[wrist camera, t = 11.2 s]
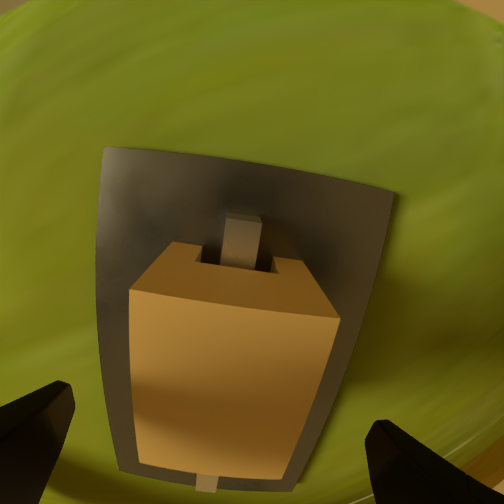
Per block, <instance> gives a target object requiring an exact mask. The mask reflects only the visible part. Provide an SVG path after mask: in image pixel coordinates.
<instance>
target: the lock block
mask: <svg viewBox="0 0 504 504" xmlns="http://www.w3.org/2000/svg"><path fill="white" fill-rule="evenodd" d="M201 253H202V246H199V245H193V244H186V243H179V242H172V243H171V244H170V245H169V246H168V247H167V248H166V249H165V250H164V251H163V252H162V254H161V255H160V256H159V257H158V258H157V259H156V260H155V261H154V262H153V263H152V264H151V265H150V267H149V268H148V269H147V270H146V271H145V272H144V273H143V274H142V275H141V277H140V278H139V279H138V280H137V281H136V282H135V283H134V284H133V285H132V287H131V288H130V289H129V350H130V374H131V390H132V403H133V414H134V424H135V433H136V442H137V449H138V457H139V463H143V464H148V465H152V466H157V467H162V468H167V469H173V470H179V471H185V472H191V473H198V474H206V475H214V476H224V477H235V478H250V479H282V477H283V474H284V472H285V470H286V468H287V465H288V463H289V461H290V459H291V456H292V454H293V452H294V449H295V447H296V444H297V442H298V440H299V437H300V435H301V432H302V430H303V427H304V425H305V422H306V420H307V417H308V414H309V412H310V409H311V406H312V404H313V401H314V398H315V396H316V393H317V390H318V387H319V384H320V382H321V379H322V376H323V373H324V370H325V367H326V364H327V361H328V358H329V355H330V352H331V349H332V345H333V342H334V339H335V336H336V332H337V329H338V326H339V322H340V319H341V318H340V317H339V315H338V314H337V312H336V311H335V309H334V308H333V306H332V305H331V303H330V301H329V300H328V298H327V297H326V295H325V294H324V292H323V291H322V289H321V288H320V286H319V285H318V283H317V282H316V280H315V279H314V277H313V276H312V274H311V273H310V271H309V270H308V268H307V267H306V265H305V264H304V263H303V261H300V260H294V259H287V258H280V257H273V259H272V265H271V270H270V273H268V272H261V271H254V270H247V269H240V268H233V267H227V266H220V265H213V264H207V263H200V262H201Z"/></svg>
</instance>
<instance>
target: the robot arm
mask: <svg viewBox="0 0 504 504" xmlns="http://www.w3.org/2000/svg"><path fill="white" fill-rule="evenodd" d="M74 411H75V401H74V397H73V392H72V388H71V385H70V384H68V383H66V382H63V381H59V380H57V381H55V382H53V383H51V384H48V385H46V386H44V387H42V388H40V389H38V390H36V391H34V392H32V393H29V394H27V395H25V396H23V397H21V398H19V399H17V400H14V401H12V402H10V403H8V404H6V405H4V406H1V407H0V504H39V501H40V499H41V496H42V494H43V491H44V489H45V487H46V484H47V482H48V480H49V477H50V475H51V473H52V470H53V468H54V466H55V464H56V461H57V459H58V457H59V455H60V452H61V450H62V447H63V444H64V441H65V438H66V435H67V432H68V429H69V426H70V423H71V420H72V417H73V414H74ZM365 449H366V455H367V461H368V468H369V475H370V481H371V486H372V490H373V493H374V497H375V501H376V504H504V495H503V494H501V493H499V492H497V491H495V490H493V489H491V488H489V487H487V486H485V485H484V484H482V483H480V482H479V481H477V480H475V479H474V478H472V477H471V476H469V475H466V473H465V472H463V471H462V470H460V469H458V468H457V467H455V466H454V465H452V464H451V463H449V462H448V461H446V460H445V459H444V458H442V457H441V456H439V455H438V454H436V453H435V452H433V451H432V450H430V449H429V448H428V447H426V446H425V445H423V444H422V443H420V442H419V441H417V440H416V439H415V438H413V437H412V436H410V435H409V434H408V433H406V432H405V431H403V430H402V429H401V428H399V427H398V426H396V425H395V424H394V423H392V422H391V421H389V420H377V421H375V422H374V423H373V425H372V427H371V429H370V431H369V433H368V434H367V436H366V439H365Z"/></svg>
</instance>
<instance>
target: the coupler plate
mask: <svg viewBox="0 0 504 504" xmlns="http://www.w3.org/2000/svg"><path fill="white" fill-rule="evenodd" d="M394 193H395V192H392V191H388V190H384V189H380V188H376V187H372V186H368V185H364V184H359V183H355V182H351V181H346V180H342V179H337V178H333V177H328V176H323V175H318V174H313V173H308V172H303V171H298V170H292V169H287V168H281V167H276V166H270V165H264V164H258V163H251V162H245V161H238V160H231V159H224V158H217V157H209V156H201V155H193V154H184V153H175V152H165V151H154V150H142V149H129V148H114V147H104V153H103V161H102V169H101V178H100V188H99V199H98V213H97V231H96V311H97V329H98V342H99V354H100V363H101V372H102V380H103V388H104V395H105V401H106V408H107V414H108V419H109V425H110V430H111V435H112V440H113V445H114V449H115V454H116V458H117V462H118V466H119V470H120V471H123V472H127V473H131V474H135V475H139V476H144V477H148V478H153V479H158V480H163V481H168V482H174V483H179V484H186V485H192V486H196V491H202V492H211V493H216V488H217V489H228V490H242V491H266V492H292V491H293V489H294V487H295V485H296V483H297V481H298V479H299V477H300V475H301V473H302V471H303V469H304V467H305V465H306V463H307V461H308V459H309V457H310V455H311V453H312V451H313V449H314V447H315V444H316V442H317V440H318V438H319V436H320V433H321V431H322V429H323V427H324V424H325V422H326V420H327V417H328V415H329V413H330V410H331V408H332V405H333V403H334V401H335V398H336V396H337V393H338V390H339V388H340V385H341V383H342V380H343V377H344V375H345V372H346V369H347V367H348V364H349V361H350V358H351V355H352V353H353V350H354V347H355V344H356V341H357V338H358V335H359V332H360V329H361V325H362V322H363V319H364V316H365V313H366V309H367V306H368V302H369V299H370V296H371V292H372V288H373V285H374V281H375V277H376V274H377V270H378V266H379V262H380V258H381V254H382V250H383V246H384V241H385V237H386V232H387V228H388V223H389V218H390V214H391V209H392V203H393V198H394ZM172 242H179V243H186V244H193V245H199V246H202V253H201V262H200V263H207V264H213V265H220V266H227V267H233V268H240V269H247V270H254V271H261V272H268V273H270V270H271V265H272V259H273V257H280V258H287V259H294V260H300V261H303V263H304V264H305V265H306V267H307V268H308V270H309V271H310V273H311V274H312V276H313V277H314V279H315V280H316V282H317V283H318V285H319V286H320V288H321V289H322V291H323V292H324V294H325V295H326V297H327V298H328V300H329V301H330V303H331V305H332V306H333V308H334V309H335V311H336V312H337V314H338V315H339V317H340V318H341V319H340V322H339V326H338V329H337V332H336V336H335V339H334V342H333V345H332V349H331V352H330V355H329V358H328V361H327V364H326V367H325V370H324V373H323V376H322V379H321V382H320V384H319V387H318V390H317V393H316V396H315V398H314V401H313V404H312V406H311V409H310V412H309V414H308V417H307V420H306V422H305V425H304V427H303V430H302V432H301V435H300V437H299V440H298V442H297V444H296V447H295V449H294V452H293V454H292V456H291V459H290V461H289V463H288V465H287V468H286V470H285V472H284V474H283V477H282V479H250V478H235V477H224V476H214V475H206V474H198V473H191V472H185V471H179V470H173V469H167V468H162V467H157V466H152V465H148V464H143V463H139V457H138V449H137V442H136V433H135V424H134V414H133V403H132V390H131V374H130V350H129V289H130V288H131V287H132V285H133V284H134V283H135V282H136V281H137V280H138V279H139V278H140V277H141V275H142V274H143V273H144V272H145V271H146V270H147V269H148V268H149V267H150V265H151V264H152V263H153V262H154V261H155V260H156V259H157V258H158V257H159V256H160V255H161V254H162V252H163V251H164V250H165V249H166V248H167V247H168V246H169V245H170V244H171V243H172Z"/></svg>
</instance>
